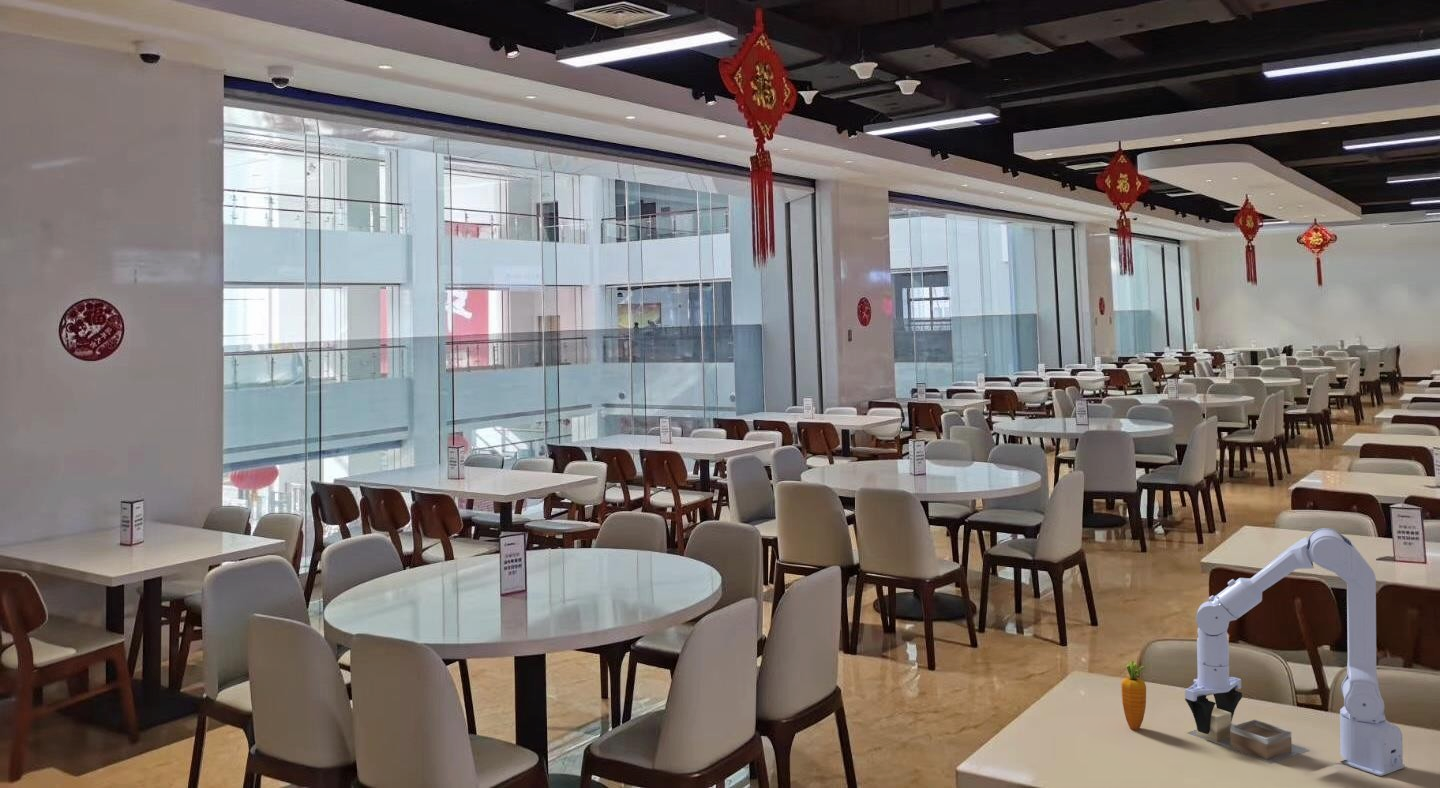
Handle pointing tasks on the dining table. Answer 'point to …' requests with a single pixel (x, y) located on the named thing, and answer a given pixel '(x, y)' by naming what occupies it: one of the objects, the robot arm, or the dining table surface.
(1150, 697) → the dining table surface
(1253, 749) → the walnut plinth
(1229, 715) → the maple block
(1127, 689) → the carrot
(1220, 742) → the board
